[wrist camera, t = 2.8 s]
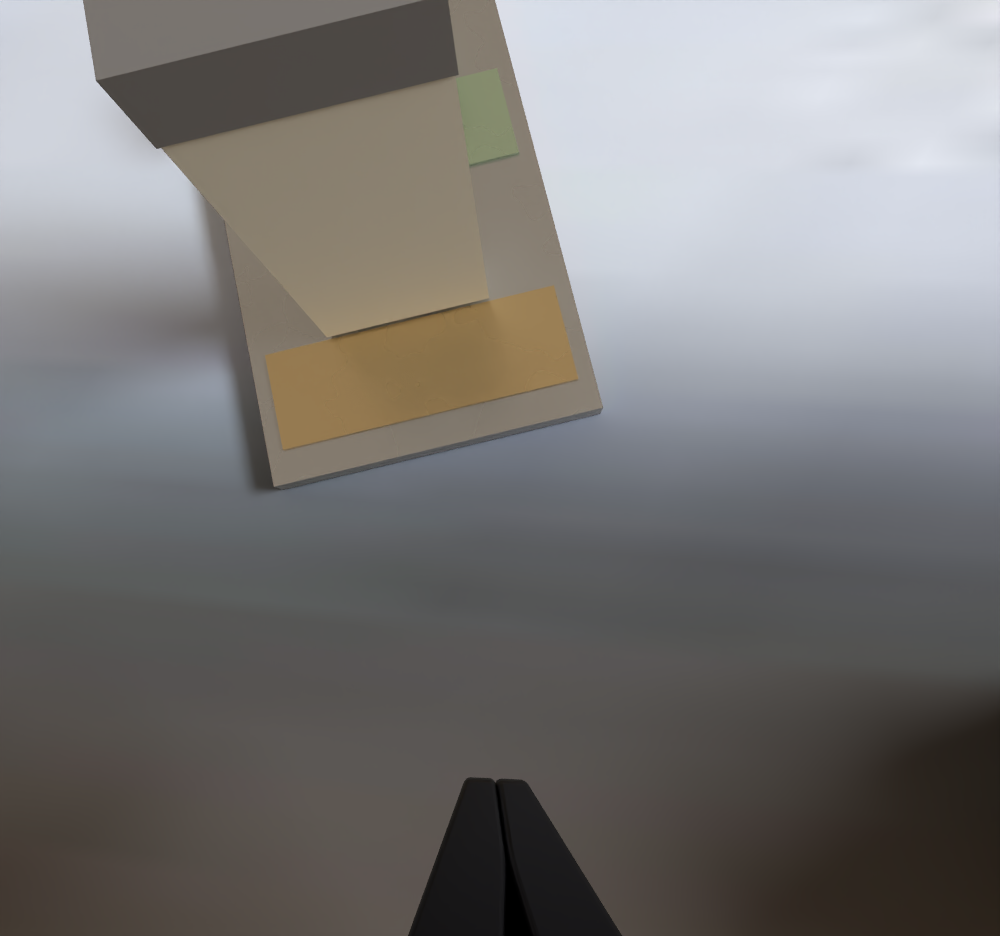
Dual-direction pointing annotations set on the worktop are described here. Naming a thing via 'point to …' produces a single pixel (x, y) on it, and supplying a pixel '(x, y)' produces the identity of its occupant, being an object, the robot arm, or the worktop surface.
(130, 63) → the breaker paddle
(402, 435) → the base
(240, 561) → the worktop surface
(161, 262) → the worktop surface
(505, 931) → the robot arm
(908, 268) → the worktop surface
